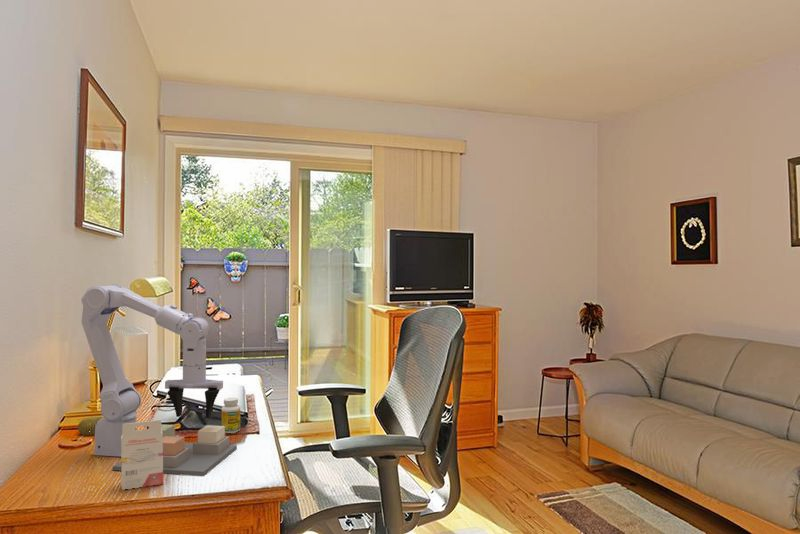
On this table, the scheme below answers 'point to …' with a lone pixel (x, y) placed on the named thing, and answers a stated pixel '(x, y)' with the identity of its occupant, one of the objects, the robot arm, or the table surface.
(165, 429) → the sage button
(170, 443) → the terracotta button
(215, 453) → the board
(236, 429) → the supplement bottle
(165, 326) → the robot arm
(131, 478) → the ink cartridge box
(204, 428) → the cream button
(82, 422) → the sculpture
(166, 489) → the table surface
